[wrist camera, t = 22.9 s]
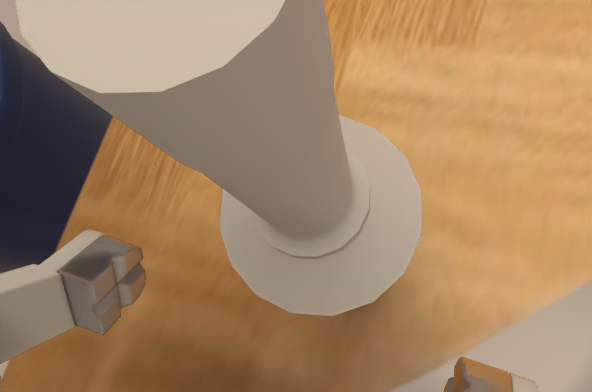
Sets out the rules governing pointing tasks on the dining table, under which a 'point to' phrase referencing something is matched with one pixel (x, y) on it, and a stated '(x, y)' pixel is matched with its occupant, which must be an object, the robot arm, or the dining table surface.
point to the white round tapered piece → (249, 134)
